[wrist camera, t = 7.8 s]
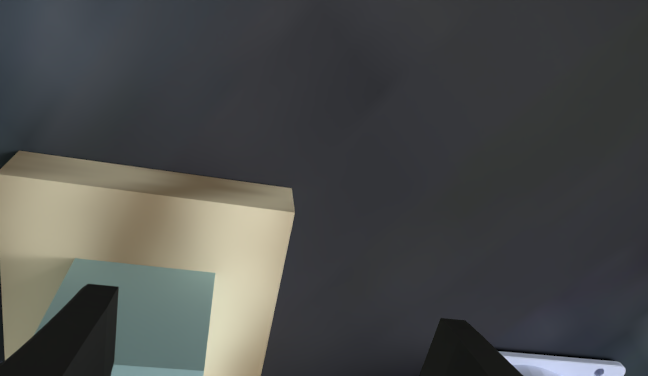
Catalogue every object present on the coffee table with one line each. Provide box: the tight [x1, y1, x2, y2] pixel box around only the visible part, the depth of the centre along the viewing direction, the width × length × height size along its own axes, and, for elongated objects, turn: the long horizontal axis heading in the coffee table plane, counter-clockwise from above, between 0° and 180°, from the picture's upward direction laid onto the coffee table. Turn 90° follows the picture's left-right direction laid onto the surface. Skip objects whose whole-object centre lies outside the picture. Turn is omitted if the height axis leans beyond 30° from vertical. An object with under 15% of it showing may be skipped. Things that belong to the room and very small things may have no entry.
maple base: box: [0, 151, 295, 376], centre depth 22 cm, size 10×10×2 cm
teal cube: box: [34, 258, 215, 376], centre depth 19 cm, size 5×5×5 cm
